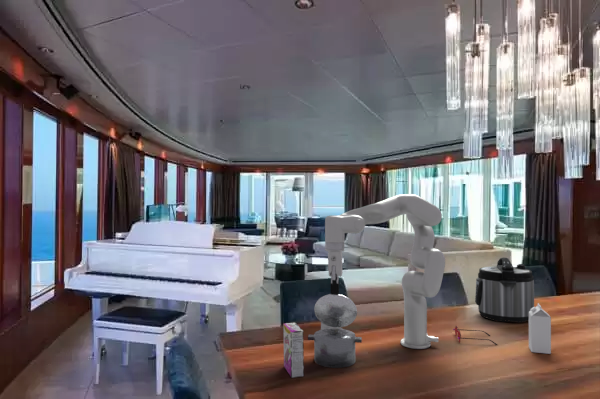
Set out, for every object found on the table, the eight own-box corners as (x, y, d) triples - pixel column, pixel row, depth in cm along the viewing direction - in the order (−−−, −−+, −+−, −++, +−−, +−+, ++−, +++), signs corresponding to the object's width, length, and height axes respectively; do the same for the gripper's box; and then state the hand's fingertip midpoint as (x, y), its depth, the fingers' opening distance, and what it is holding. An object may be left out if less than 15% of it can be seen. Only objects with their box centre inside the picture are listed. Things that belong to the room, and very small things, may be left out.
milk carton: (547, 348, 185) (547, 303, 185) (551, 354, 178) (550, 307, 178) (528, 347, 187) (528, 302, 187) (531, 352, 180) (531, 306, 180)
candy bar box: (282, 366, 165) (282, 323, 165) (295, 365, 166) (295, 322, 167) (290, 378, 154) (290, 331, 154) (304, 376, 156) (304, 330, 156)
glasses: (453, 334, 206) (452, 323, 206) (490, 336, 203) (490, 325, 203) (458, 344, 192) (457, 332, 192) (498, 346, 189) (498, 334, 189)
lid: (357, 328, 179) (357, 324, 180) (356, 295, 171) (356, 292, 172) (315, 326, 181) (316, 323, 183) (313, 294, 173) (313, 291, 175)
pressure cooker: (494, 308, 255) (494, 253, 255) (545, 318, 233) (545, 258, 233) (464, 316, 237) (464, 257, 237) (516, 328, 215) (516, 263, 215)
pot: (362, 353, 179) (362, 328, 179) (361, 369, 162) (361, 342, 162) (311, 350, 183) (311, 326, 183) (305, 366, 166) (305, 339, 166)
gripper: (343, 249, 165) (343, 298, 165) (345, 245, 180) (345, 290, 180) (323, 248, 166) (323, 297, 166) (327, 244, 181) (327, 289, 181)
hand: (334, 293), depth 173 cm, fingers closed
